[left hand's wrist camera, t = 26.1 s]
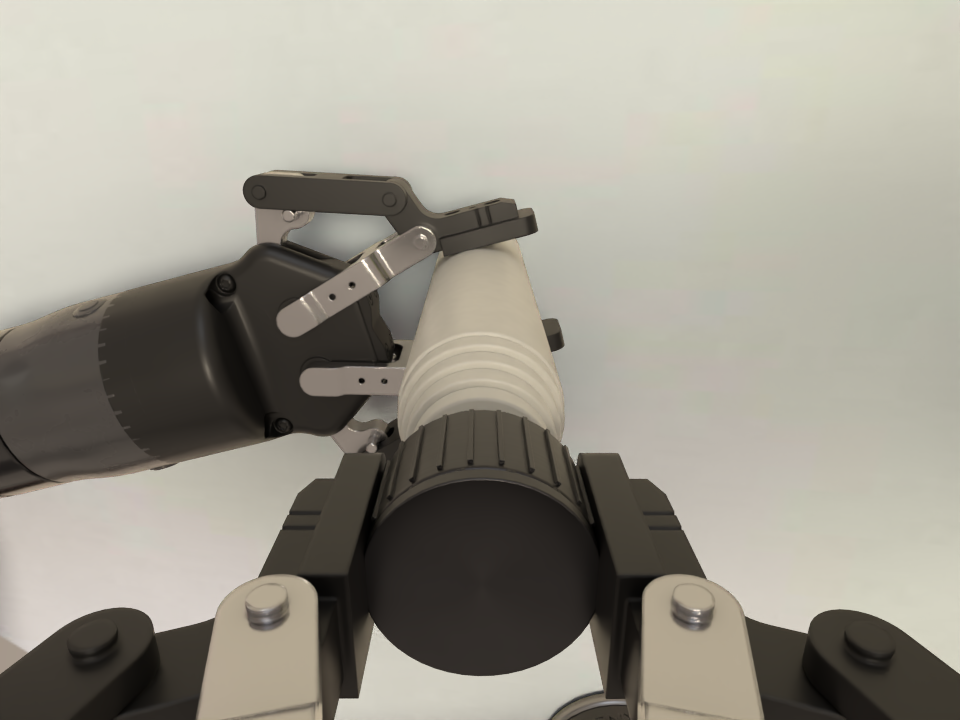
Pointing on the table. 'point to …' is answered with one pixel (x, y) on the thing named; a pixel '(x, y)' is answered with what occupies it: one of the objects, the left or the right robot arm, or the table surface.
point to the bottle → (481, 345)
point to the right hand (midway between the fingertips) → (546, 278)
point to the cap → (481, 546)
